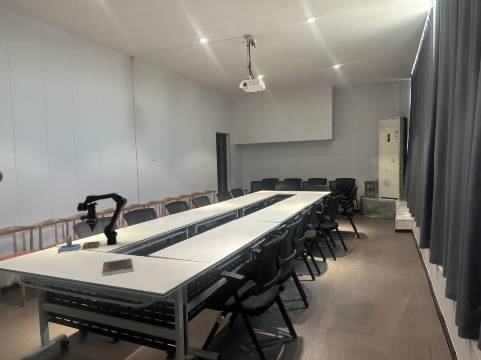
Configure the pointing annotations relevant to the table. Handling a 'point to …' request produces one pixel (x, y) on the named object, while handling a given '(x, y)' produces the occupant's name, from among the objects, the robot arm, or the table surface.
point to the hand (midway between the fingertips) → (93, 230)
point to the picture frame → (117, 267)
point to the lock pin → (69, 241)
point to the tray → (73, 248)
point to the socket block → (91, 245)
